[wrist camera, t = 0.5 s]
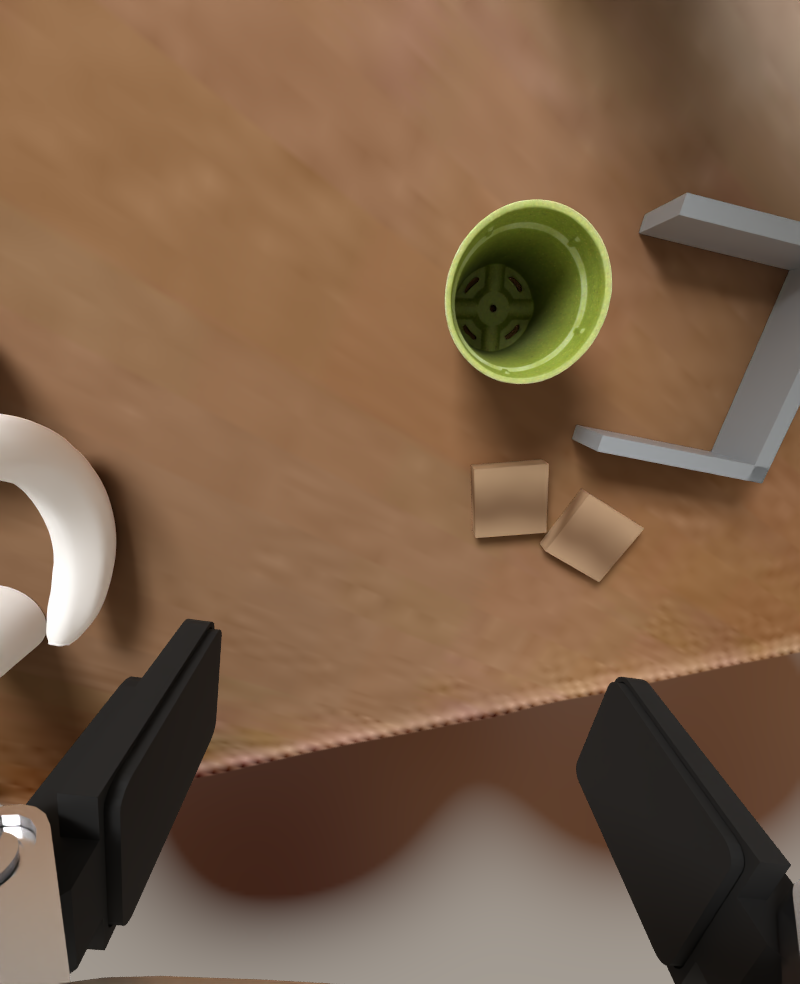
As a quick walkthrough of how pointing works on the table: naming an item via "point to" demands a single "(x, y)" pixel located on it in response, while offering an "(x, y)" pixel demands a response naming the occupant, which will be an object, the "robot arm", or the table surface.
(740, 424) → the u-shaped fence
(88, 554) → the white curved piece
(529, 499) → the tile
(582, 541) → the tile
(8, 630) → the cylindrical container
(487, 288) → the plant pot
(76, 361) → the table surface
